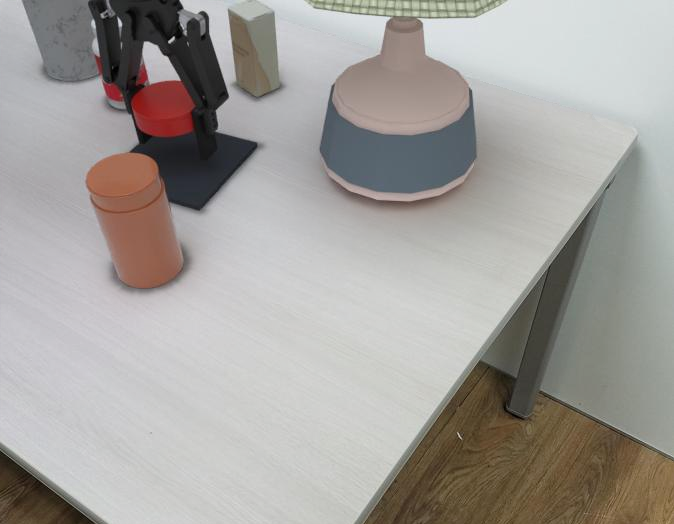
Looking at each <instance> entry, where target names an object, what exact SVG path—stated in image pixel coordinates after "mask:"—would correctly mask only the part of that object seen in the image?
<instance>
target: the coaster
mask: <svg viewBox="0 0 674 524" xmlns="http://www.w3.org/2000/svg"><path fill="white" fill-rule="evenodd" d="M215 136H216V142H217V147H218V149H217V150H216V151H215V152H214V153H213V154H212V155H211V156H210V157H209V158H208V160H207V161H204V160H201V158H200V154H199V149H198V144H197V139H196V134H195V130H193V131H191V132H189V133H186V134H183V135H179V136H173V137H158V136H153V137H152V138H150V139H149V140H148V141H147V142H146V143H145V144H142V143H139V142H138V144H136V145H135V146H134V147H133V148H132V149H131V150H130V151H129V152H128V153H139V154H143V155H146V156H148V157H150V158H152V159H153V160H154V161H155V162H156V163H157V166H158V169H159V173H160V177H161V178H162V179H163V181H164V184H165V188H166V192H167V196H168V200H169V203H174V204H177V205H180V206H184V207H187V208H191V209H194V210H198V211H200V210H201V209H202V208H203V207H204V206H205V205H206V204H207V203H208V202H209V201H210V199H211V198H212V197H213V196H214V195H215V194H216V193H217V192H218V191H219V189H220V188H222V186H223V185H224V184H225V183H226V182H227V181H228V180H229V178H231V176H232V175H233V174H234V173H235V172H236V171H237V170H238V168H240V167H241V165H242V164H243V163H244V162H245V161H246V160H247V158H249V157H250V156H251V154H252V153H253V152H254V151H255V150H256V149H257V148H258V141H257V142H256V141H254V140H253V141H252V140H249V139H245V138H241V137H238V136H234V135H229V134H227V133H222V132H218V131H215Z"/></svg>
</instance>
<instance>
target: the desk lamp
mask: <svg viewBox="0 0 674 524" xmlns="http://www.w3.org/2000/svg"><path fill="white" fill-rule="evenodd" d="M304 1H305V2H306V4H308V5H309V6H310V7H312V8H313V9H315V10H321V11H322V10H323V11H330V12H336V13H344V14H345V13H346V14H352V15H360V16H374V17H384V18H385V17H386V18H389V19H388V20H387V21H386V22H385V28H384V33H383V38H382V43H381V47H380V48H381V50H380V54H377V55H375V56H372V57H369V58H366V59H364V60H361V61H359V62H357V63H355V64H353V65H349V66H347V68H346V69H345V70H344V71H342V72H341V73H340V75H338V77H336V78H335V82H333V84H332V85H331V87H330V91H329V96H328V102H327V106H326V112H325V117H324V122H323V128H322V133H321V138H320V143H319V148H318V150H319V153H320V154H321V155H320V160H321V163H322V165H323V166H324V168H325V171H326V173H327V175H328V177H330V178H331V179H332V180H334V181H335V182H337V183H338V184H339V185H340V186H342V187H343V188H344V189H346V190H347V191H349V192H351V193H355V194H358V195H361V196H364V197H366V198H371V199H373V200H376V201H393V202H413V201H414V202H415V201H419V200H424V199H429V198H434V197H438V196H441V195H443V194H446V193H447V192H449V191H450V190H452V189H453V188H456V187H457V186H459V185H461V184H462V183H464V182H465V180H466V178H467V177H468V176H469V174H470V173H471V171H472V170H473V168H474V167H475V160H476V159H477V158H478V151H477V150H478V149H477V148H478V147H477V131H476V120H475V119H476V118H475V109H474V107H475V106H474V96H473V90H472V88H471V87H470V85H469V83H468V81H467V80H466V78H464V76H463V75H462V74H461V72H460V71H459V70H457V69H455V68H454V67H451V66H450V65H448V64H447V63H444V62H442V61H441V60H437V59H435V58H433V57H431V56H429V55H427V54H426V44H425V43H426V42H425V33H424V22H422V20H421V19H428V20H429V19H431V20H432V19H433V20H434V19H435V20H436V19H437V20H439V19H475V18H478V17H480V16H481V15H484V14H486V13H488V12H489V11H491V10H493V9H495V8H498V7H500V6H501V5H503V4H505V3H506V2H508V1H509V0H304Z"/></svg>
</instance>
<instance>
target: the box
mask: <svg viewBox="0 0 674 524" xmlns="http://www.w3.org/2000/svg"><path fill="white" fill-rule="evenodd" d="M226 10H227V15H228V23H229V31H230V40H231V48H232V55H233V57H232V58H233V65H234V66H233V67H234V74H235V81H236V82H235V83H236V85H238V86H239V87H240V88H242V89H243V90H245V91H246V92H248V93H249V94H251V95H252V96H253V97H255V98H259V97H262V96H264V95H266V94H268V93H270V92H272V91H275V90H277V89H279V88H280V87H281V85H280V84H281V83H280V70H279V56H278V43H277V40H278V39H277V27H276V14H275V10H274V9H273V8H271V7H269V6H268V5H266V4H264V3H262V2H260V1H259V0H243V1H241V2H238V3H236V4H233V5H230V6H228V7H227V9H226Z"/></svg>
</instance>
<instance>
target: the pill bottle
mask: <svg viewBox="0 0 674 524" xmlns="http://www.w3.org/2000/svg"><path fill="white" fill-rule="evenodd" d="M117 17H118V16H117ZM118 24H119V33H120V37H121V29H122V23H121V20H120V19H119V18H118ZM91 25H92V29H93V33H94V35H95V39H94V40H93V43H92V49H93V53H94V56H95V59H96V63H97V66H98V69H99V73H100V74H99V77H100V79H101V83H102V85H103V89H104V92H105V96H106V99H107V102H108V103H109V105H111V106H112V107H114V108H115V109H118V110H126V105H125V102H124V99H123V95H122V92H120V91H119V90H118V88H117V86H116V85H114V84H113V83H112V84H110V85H109V84H107V83H105V82H104V80H103V76H102V69H101V62H100V54H99V47H98V40H97V33H96V26H95V21H94V19H93V20H92V22H91ZM121 49H122V42H121ZM112 68H113V66H112ZM139 76H140V77H141V79H140V80H139V81H138V82H137V83H136V86H137V85H138V84H143V85H145V87H146V86H148V85H151V83H150V79H149V75H148V71H147V68H146V62H145V59H144V55H143V53H142V58H141V64H140V70H139ZM140 77H139V78H140ZM139 78H138V79H139Z"/></svg>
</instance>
